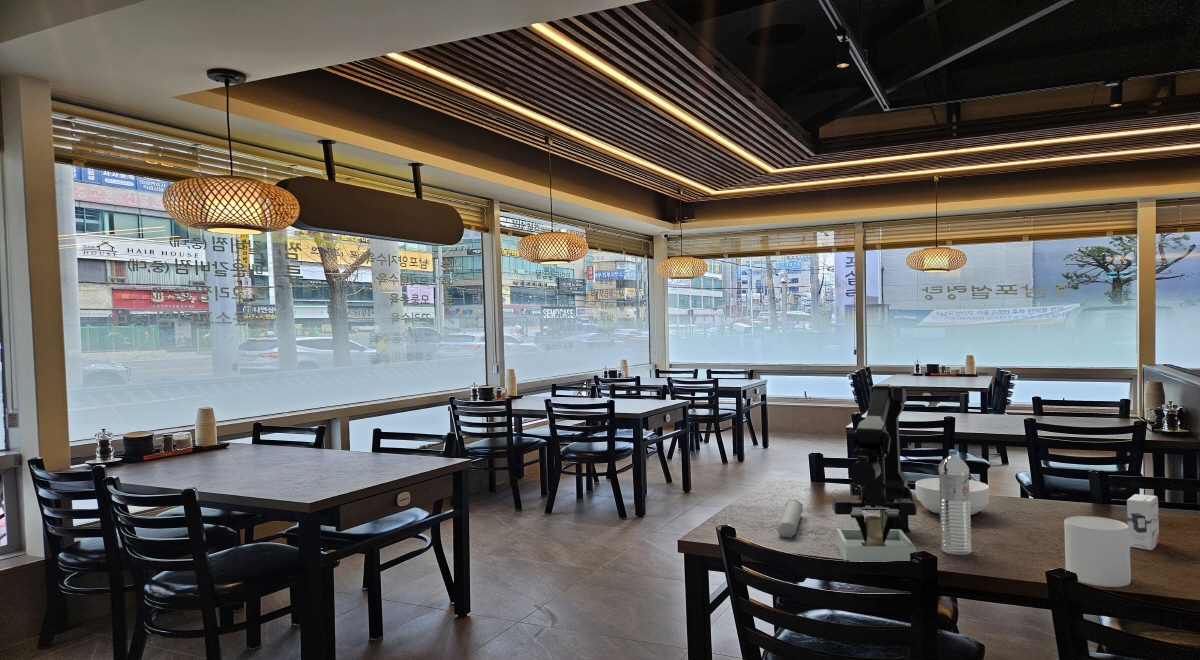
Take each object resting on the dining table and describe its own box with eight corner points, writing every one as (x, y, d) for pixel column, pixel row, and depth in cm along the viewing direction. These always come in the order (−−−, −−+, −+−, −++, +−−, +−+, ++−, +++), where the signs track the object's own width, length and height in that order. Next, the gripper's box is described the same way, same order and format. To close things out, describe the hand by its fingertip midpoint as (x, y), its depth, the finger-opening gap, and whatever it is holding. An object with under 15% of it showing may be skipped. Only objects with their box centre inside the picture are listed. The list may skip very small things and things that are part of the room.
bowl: (1003, 513, 215) (1002, 484, 215) (966, 525, 204) (965, 495, 204) (939, 501, 231) (939, 475, 231) (902, 512, 220) (901, 484, 220)
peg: (881, 548, 181) (880, 516, 181) (885, 553, 177) (883, 520, 177) (864, 548, 182) (863, 515, 182) (867, 553, 178) (866, 520, 178)
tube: (798, 525, 195) (805, 503, 219) (779, 518, 197) (787, 496, 220) (792, 544, 196) (800, 519, 219) (773, 536, 197) (782, 513, 221)
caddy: (901, 547, 186) (900, 529, 186) (916, 567, 170) (916, 547, 170) (837, 546, 188) (836, 528, 188) (846, 565, 173) (846, 546, 173)
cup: (1126, 591, 152) (1125, 533, 152) (1061, 579, 159) (1059, 524, 159) (1134, 576, 160) (1132, 521, 160) (1071, 565, 168) (1069, 513, 168)
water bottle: (957, 557, 176) (954, 453, 176) (934, 550, 183) (931, 449, 183) (978, 553, 179) (974, 450, 179) (954, 546, 185) (951, 447, 185)
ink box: (1135, 539, 186) (1134, 492, 186) (1160, 542, 183) (1158, 495, 183) (1127, 546, 180) (1126, 498, 180) (1152, 550, 177) (1151, 501, 177)
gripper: (905, 471, 186) (907, 533, 186) (828, 471, 189) (830, 532, 189) (916, 480, 175) (918, 546, 175) (834, 480, 178) (836, 544, 178)
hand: (874, 541), depth 179 cm, fingers closed on peg, 4 cm apart
